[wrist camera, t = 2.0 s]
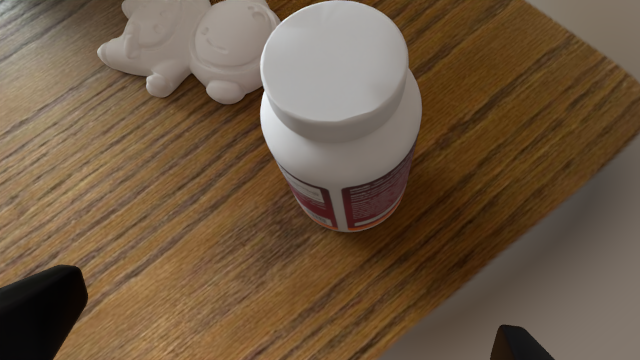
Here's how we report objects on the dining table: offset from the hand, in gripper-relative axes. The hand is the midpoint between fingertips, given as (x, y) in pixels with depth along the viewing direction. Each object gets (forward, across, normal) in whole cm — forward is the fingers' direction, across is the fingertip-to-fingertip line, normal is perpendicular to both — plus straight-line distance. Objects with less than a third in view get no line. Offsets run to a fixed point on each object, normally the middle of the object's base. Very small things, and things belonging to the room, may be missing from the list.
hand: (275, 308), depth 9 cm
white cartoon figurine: (+20, +11, -2) cm, 23 cm away
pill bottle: (+14, 0, +4) cm, 15 cm away
